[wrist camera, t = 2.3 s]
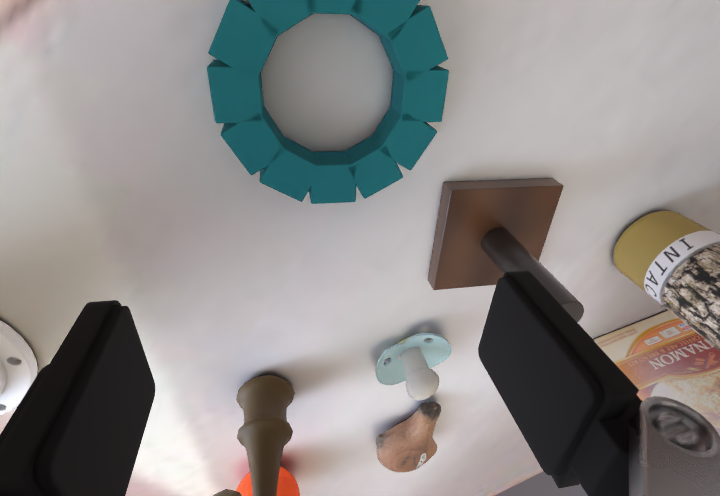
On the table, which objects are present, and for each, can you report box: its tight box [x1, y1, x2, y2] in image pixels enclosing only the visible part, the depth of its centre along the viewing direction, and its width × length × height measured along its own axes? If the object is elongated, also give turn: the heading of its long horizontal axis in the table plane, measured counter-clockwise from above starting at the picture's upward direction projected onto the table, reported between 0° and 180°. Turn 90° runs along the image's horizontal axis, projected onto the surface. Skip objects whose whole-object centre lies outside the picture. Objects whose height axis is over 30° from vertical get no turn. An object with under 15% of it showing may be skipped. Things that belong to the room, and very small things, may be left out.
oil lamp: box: [376, 402, 441, 472], centre depth 44 cm, size 9×4×8 cm
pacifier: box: [376, 332, 452, 400], centre depth 36 cm, size 7×6×6 cm
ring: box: [207, 0, 449, 204], centre depth 23 cm, size 13×13×3 cm
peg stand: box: [428, 178, 584, 322], centre depth 28 cm, size 9×9×10 cm
